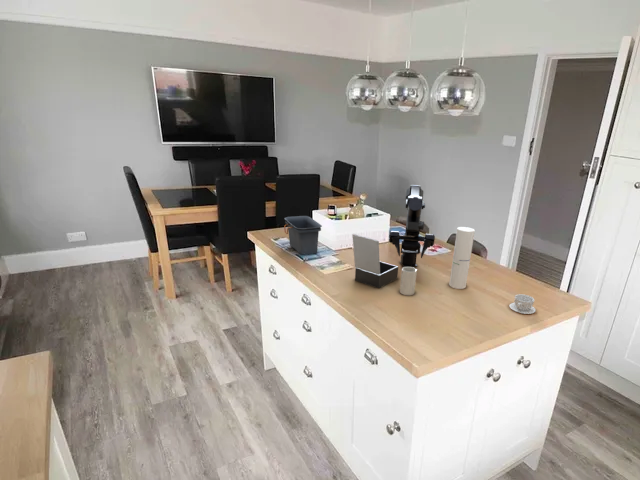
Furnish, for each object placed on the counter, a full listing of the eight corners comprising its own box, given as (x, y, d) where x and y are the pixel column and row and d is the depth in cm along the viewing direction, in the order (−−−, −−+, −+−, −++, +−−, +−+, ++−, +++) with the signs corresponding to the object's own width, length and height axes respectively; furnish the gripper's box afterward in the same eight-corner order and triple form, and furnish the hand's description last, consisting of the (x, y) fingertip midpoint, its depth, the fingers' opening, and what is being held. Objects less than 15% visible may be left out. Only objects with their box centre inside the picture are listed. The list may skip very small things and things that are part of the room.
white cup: (411, 288, 173) (413, 266, 169) (416, 294, 168) (419, 271, 164) (397, 289, 171) (399, 267, 167) (402, 295, 166) (404, 272, 162)
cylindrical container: (465, 289, 176) (474, 232, 166) (448, 287, 178) (456, 230, 167) (466, 283, 183) (475, 228, 172) (449, 281, 184) (457, 226, 173)
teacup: (515, 301, 169) (517, 290, 167) (539, 309, 164) (541, 298, 162) (504, 308, 162) (507, 297, 160) (529, 317, 156) (532, 306, 154)
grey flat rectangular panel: (353, 233, 167) (352, 234, 166) (378, 240, 161) (377, 241, 160) (356, 266, 175) (354, 267, 174) (380, 274, 169) (379, 274, 169)
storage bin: (324, 254, 205) (324, 226, 199) (294, 258, 197) (293, 228, 191) (308, 242, 221) (307, 215, 215) (279, 245, 213) (278, 217, 207)
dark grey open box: (374, 271, 188) (375, 259, 186) (397, 278, 183) (398, 266, 180) (354, 280, 177) (355, 267, 175) (378, 288, 171) (379, 275, 169)
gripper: (391, 211, 169) (387, 245, 164) (437, 215, 169) (435, 249, 163) (391, 225, 180) (387, 258, 174) (434, 229, 179) (432, 262, 174)
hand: (410, 256), depth 171 cm, fingers open, 9 cm apart
